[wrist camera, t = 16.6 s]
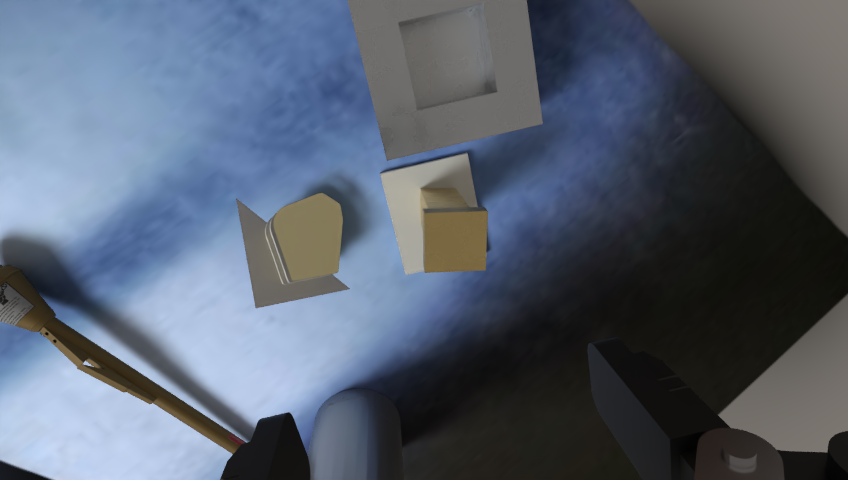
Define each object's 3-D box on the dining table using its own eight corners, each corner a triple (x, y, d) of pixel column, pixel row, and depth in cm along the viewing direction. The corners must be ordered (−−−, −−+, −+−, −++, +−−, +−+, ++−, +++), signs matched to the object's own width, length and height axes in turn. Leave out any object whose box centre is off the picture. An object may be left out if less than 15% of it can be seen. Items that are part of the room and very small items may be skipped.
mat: (485, 253, 46) (486, 255, 45) (405, 272, 45) (405, 274, 45) (466, 152, 42) (467, 153, 42) (380, 172, 42) (380, 174, 42)
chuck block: (516, 117, 42) (542, 124, 35) (385, 148, 42) (386, 160, 35) (490, -60, 37) (514, -91, 31) (343, -27, 37) (335, -51, 30)
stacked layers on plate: (350, 288, 46) (372, 284, 41) (255, 308, 41) (267, 305, 36) (331, 189, 46) (350, 173, 42) (236, 197, 42) (245, 180, 37)
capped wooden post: (461, 180, 42) (487, 211, 32) (461, 227, 44) (485, 270, 34) (413, 182, 42) (424, 213, 32) (414, 228, 44) (424, 272, 33)
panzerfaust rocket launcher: (271, 471, 53) (263, 507, 49) (-37, 272, 41) (-84, 297, 37) (300, 446, 52) (294, 481, 48) (-5, 237, 41) (-49, 258, 36)
